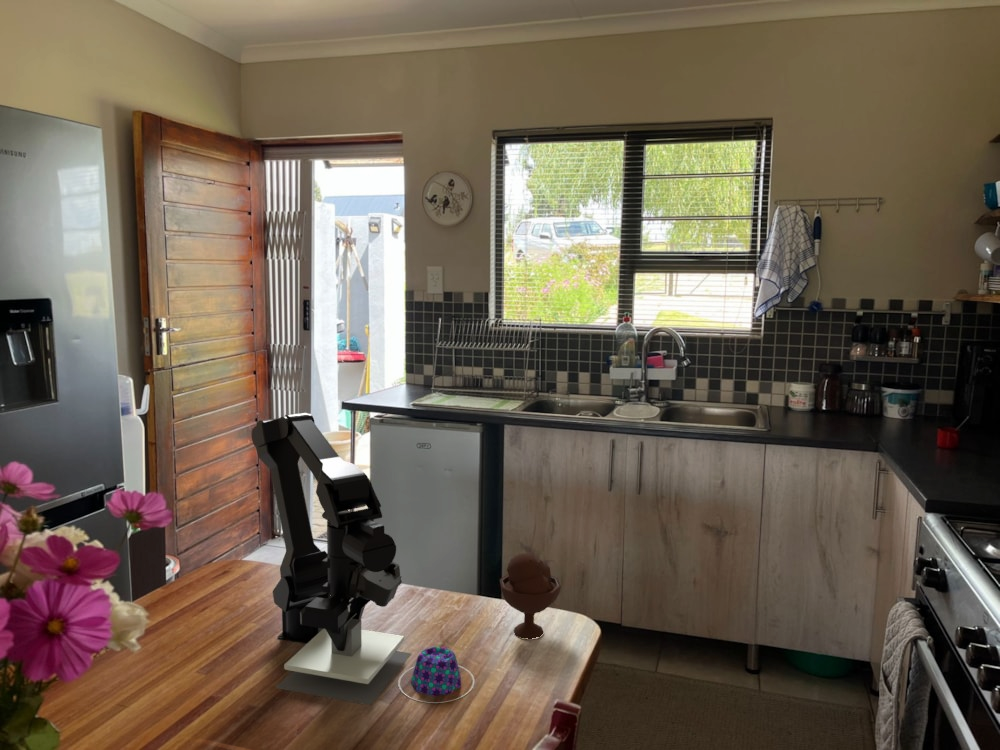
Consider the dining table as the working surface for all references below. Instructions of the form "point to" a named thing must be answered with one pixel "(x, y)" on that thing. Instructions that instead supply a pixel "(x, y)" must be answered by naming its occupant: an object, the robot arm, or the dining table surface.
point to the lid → (346, 654)
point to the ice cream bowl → (529, 591)
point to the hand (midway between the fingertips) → (346, 644)
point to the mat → (345, 683)
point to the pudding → (436, 673)
